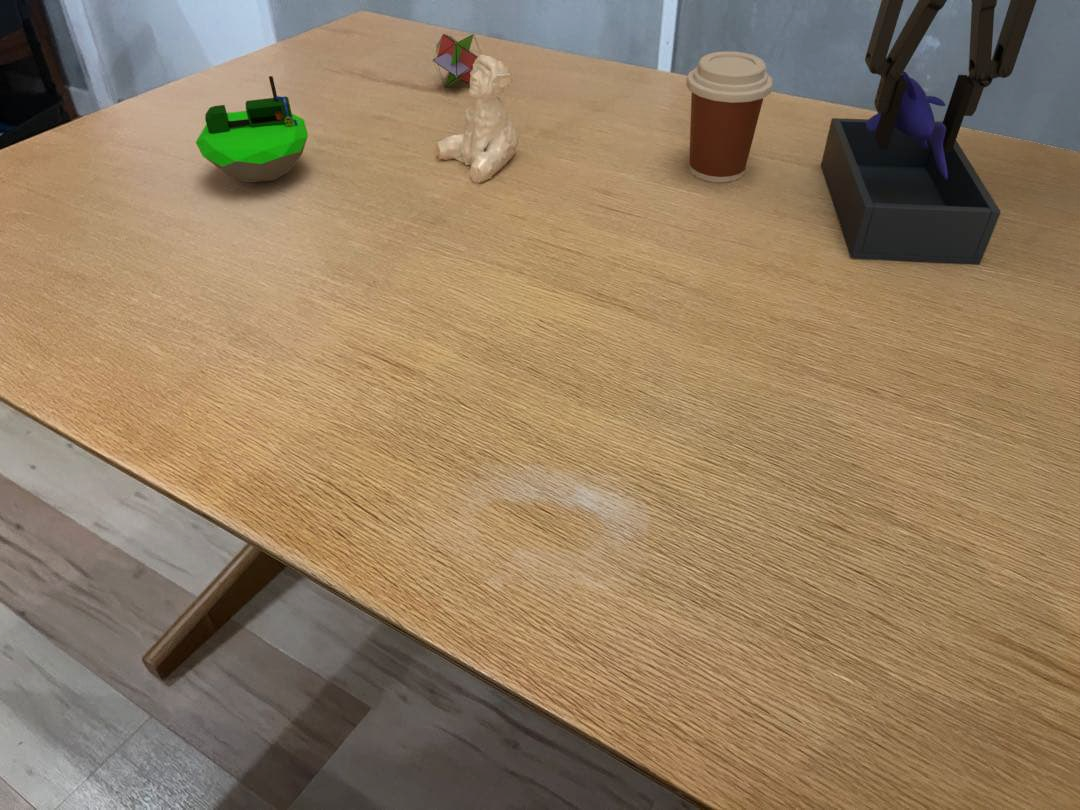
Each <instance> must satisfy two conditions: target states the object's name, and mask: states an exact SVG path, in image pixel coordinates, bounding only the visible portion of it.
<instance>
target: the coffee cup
mask: <svg viewBox="0 0 1080 810" xmlns="http://www.w3.org/2000/svg"><path fill="white" fill-rule="evenodd" d="M766 68H767V64H766V63H765V61H764V60H763V59H762V58H760V57H758V56H756V55H754V54H752V53H751V54H749V53H746V52H742V51H741V52H740V51H731V50H728V51H727V50H726V51H716V52H715V51H714V52H711V53H708V54H706V55H703V56H701V58H700V59H699V61H698V63H697V66H695V68H694V69H692V70H691V71H689V73H688V74H687V77H686V81H685V86H686V87H687V89H688V90H689V92H691V100H690V123H689V124H690V126H689V127H690V128H689V129H690V130H689V156H688V157H689V158H688V160H689V162H688V170H689V173H690V174H692V175H693V176H694V177H696V178H698V179H700V180H704V181H706V182H713V183H731V182H735V181H737V180H740V179H741V178H743V176H745V174H746V170H747V169H746V168H747V164H748V160H749V157H750V152H751V148H752V144H753V140H754V137H755V133H756V129H757V125H758V120H759V118H760V115H761V114H760V113H761V110H762V105H763V102H764V98H766V97H768V96H769V95H771V94H772V90H773V85H774V79H773V77H771V75H770V74H769V73H768V72H767V71H766Z"/></svg>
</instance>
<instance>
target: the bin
mask: <svg viewBox="0 0 1080 810" xmlns="http://www.w3.org/2000/svg"><path fill="white" fill-rule="evenodd" d="M869 119H870V118H867V119H866V118H839V117H832V118H831V120H830V124H829V129H828V133H827V137H826V142H825V145H824V149H823V155H822V159H821V163H820V166H821V169H822V173H823V175H824V176H823V177H824V179H825V182H826V185H827V189H828V191H829V194H830V198H831V200H832V204H833V206H834V210H835V213H836V216H837V219H838V222H839V225H840V228H841V231H842V234H843V238H844V240H845V244H846V247H847V250H848V253H849V257H850V258H851V259H863V260H882V261H883V260H885V261H902V262H903V261H905V262H924V263H925V262H926V263H948V264H968V265H980V264H981V262H982V260H983V257H984V255H985V252H986V250H987V247H988V245H989V242H990V240H991V238H992V235H993V233H994V231H995V228H996V226H997V223H998V220H999V218H1000V215H1001V213H1002V212H1001V210H1000V208H999V206H998V205H997V203H996V202H995V200H994V198H993V197H992V195H991V194H990V192H989V191H988V189H987V187H986V186H985V184H984V183H983V181H982V180H981V177H980V176H979V174H978V173H977V171H976V170H975V167H973V165H972V163H971V161H970V160H969V159H968V157H967V156H966V154H965V152H964V150H963V149H962V147H961V145H960V144H959V143H958V141H957V140H956V141H955V144H954V147H953V150H952V152H944V155H945V160H946V166H947V173H948V178H947V180H946V179H945V178H944V177H943V176H942V174H941V172H940V171H939V169H938V167H937V164H936V162H935V159H934V155H933V151H932V147H931V143H930V141H928V140H927V148H926V149H924V148H922V147H920V146H919V144H918V143H917V141H916V139H915V138H912V137H910V136H908V135H906V134H905V133H903V132H902V131H900V130H899V129H897V128H896V127H895V126H894V129H893V133H892V136H891V139H890V143H889V146H888V149H879V146H878V144H877V142H876V140H875V134H876V130H877V128H876V129H875V130H874V131H869V130H868V129H867V128H866V122H867V121H868V120H869ZM937 123H943V121H935V122H934V126H935V125H936V124H937Z"/></svg>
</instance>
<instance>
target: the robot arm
mask: <svg viewBox="0 0 1080 810" xmlns="http://www.w3.org/2000/svg"><path fill="white" fill-rule="evenodd" d="M904 1H905V0H881V1H880V4H879V8H878V11H877V15H876V19H875V21H874V25H873V29H872V32H871V35H870V39H869V42H868V46H867V50H866V53H865V57H864V62H865V64H866V66H867V68H868V70H869V72H870V73H871V74H873V75H878V76H880V79H879V83H878V87H877V91H876V95H875V98H874V101H873V102H874V108H875V110H876V112H877V114H878V113H881V116H880V120H879V123H878V127H877V130H876V134H875V140H876V142H877V144H878V146H879V149H888V146H889V143H890V139H891V136H892V133H893V129H894V126H895V122H896V119H897V116H898V112H899V109H900V105H901V102H902V98H903V95H904V92H905V88H906V85H907V83H906V81H905V79H904V78H903V76H902V73H903V71H904V72H905V70H906V68H907V66H908V64H909V63H910V61H911V59H912V57H913V56H914V54H915V52H916V51H917V49H918V47H919V46H920V44H921V42H922V40H923V38H924V37H925V35H926V33H927V31H928V30H929V28H930V26H931V25H932V23H933V21H934V19H935V18H936V16H937V14H938V13H939V11H940V10H942V9H943V8H944V6H945V5H946V3H947V2H948V0H918V1H917V2H916V4H915V5H914V7H913V9H912V11H911V13H910V14H909V17H908V18H907V20H906V22H905V23H904V26H903V28H902V29H901V31H900V33H899V34H898V36H897V38H896V40H895V42H894V44H893V45H892V47H891V48H890V46H891V43H892V40H893V37H894V34H895V29H896V27H897V23H898V20H899V17H900V13H901V10H902V7H903V3H904ZM970 2H971V13H970V14H971V15H970V34H969V54H968V75H967V74H958V75H957V78H956V81H955V83H954V87H953V90H952V93H951V96H950V99H949V102H948V106H947V108H946V110H945V114H944V117H943V120H942V122H943V123H942V124H944V125H945V127H946V132H945V136H944V141H943V149H944V152H952V150H953V147H954V144H955V141H957V139H958V136H959V132H960V130H961V126H962V125H963V120H964V119H965V117H972V116H973V115H974V114H975V113H976V110H977V109H978V105H979V103H980V100H981V97H982V95H983V92H984V89H985V88H987V87H989V86H990V85H991V84H992V82H993V79H997V78H1001V79H1005V78H1008V77H1010V76H1011V75H1012V73H1013V71H1014V69H1015V65H1016V62H1017V60H1018V56H1019V55H1020V51H1021V49H1022V48H1021V47H1022V45H1023V42H1024V39H1025V35H1026V33H1027V29H1028V27H1029V24H1030V21H1031V18H1032V15H1033V13H1034V10H1035V6H1036V3H1037V0H1010V1H1009V3H1008V7H1007V10H1006V13H1005V17H1004V20H1003V22H1002V26H1001V29H1000V32H999V36H998V39H997V42H996V45H995V47H994V48H995V49H994V50H993V38H994V23H995V10H996V9H995V8H996V7H997V4H998V0H971V1H970ZM889 49H890V51H889ZM992 50H993V52H992ZM992 53H993V54H992Z"/></svg>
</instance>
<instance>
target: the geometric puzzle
mask: <svg viewBox="0 0 1080 810" xmlns="http://www.w3.org/2000/svg"><path fill="white" fill-rule="evenodd" d="M473 38H474V39H475V43H476V46H477V50H478V53H479V54H480V55H481V54H483V53H482V52H481V51H480V50H481V49H480V48H481V47H479V44H478V41H477V38H476V36H475V33H473V34H470V35H469V36H467V37H465V38H462V39H461V40H459V41H457V40H456V39H455V38H454V37H453V36H452V35H450V34H446V33H442V35H441V37H440V38H439V40H438V42H437V43H436V51H435V54H434V56H433V57H434V58H433V59H431V61H432V62H433V64H434V66H435V70H439V74H438V75H439V78H440V80H441V82H442V84H443V87H444V89H446V88H448V87H450V85H453V84H454V83H456V82H457V81H460V80H461V81H462V82H464V83H466V84H468V85H469V86H470V77H471V75H470V72H471V71H472V70H473V64H474V63H475V60H476V59H477V57H478V56H479V55H476V54H474V52H472V51H470V50H471V46H472V42H473ZM435 55H436V57H435ZM435 64H437V66H436V65H435ZM437 67H438V68H437ZM440 67H441V68H443V69H444V70H445V71H447V72H448V73H447V78H446V81H445V83H444V80H443V76H442V73H441V72H442V71H441V70H440ZM440 75H441V76H440Z"/></svg>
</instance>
